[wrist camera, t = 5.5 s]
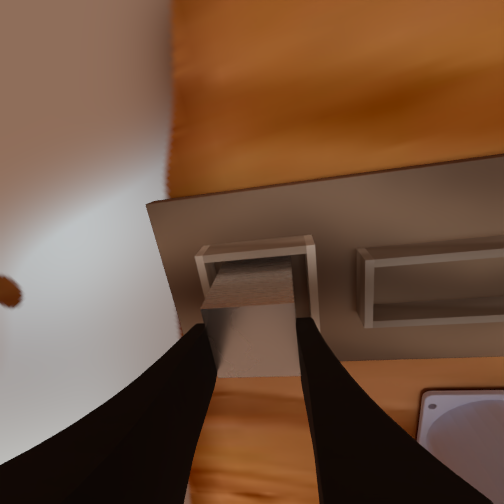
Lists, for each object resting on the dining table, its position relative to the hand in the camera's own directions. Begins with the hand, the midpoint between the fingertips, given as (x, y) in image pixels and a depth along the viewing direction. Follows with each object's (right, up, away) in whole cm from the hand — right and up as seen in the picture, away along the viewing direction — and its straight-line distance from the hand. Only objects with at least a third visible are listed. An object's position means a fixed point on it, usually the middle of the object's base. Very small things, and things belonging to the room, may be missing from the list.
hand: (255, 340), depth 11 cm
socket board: (+5, +2, +4) cm, 7 cm away
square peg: (0, +2, +4) cm, 4 cm away
